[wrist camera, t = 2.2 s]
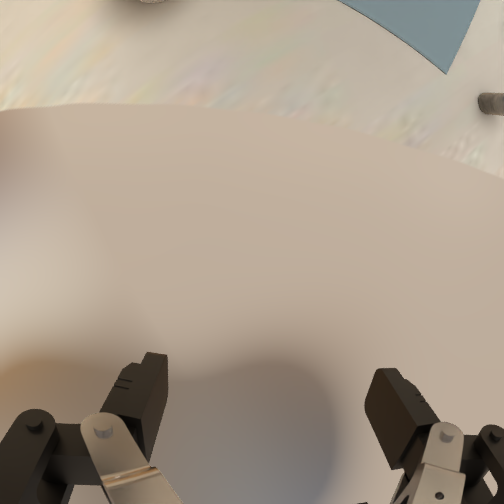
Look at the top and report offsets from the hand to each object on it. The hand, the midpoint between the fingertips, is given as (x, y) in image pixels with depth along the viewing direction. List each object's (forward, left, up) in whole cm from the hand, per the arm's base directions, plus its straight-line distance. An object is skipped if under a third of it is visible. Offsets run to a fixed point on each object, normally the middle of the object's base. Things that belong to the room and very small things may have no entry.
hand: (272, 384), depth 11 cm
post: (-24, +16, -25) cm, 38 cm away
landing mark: (-31, +2, -25) cm, 40 cm away
